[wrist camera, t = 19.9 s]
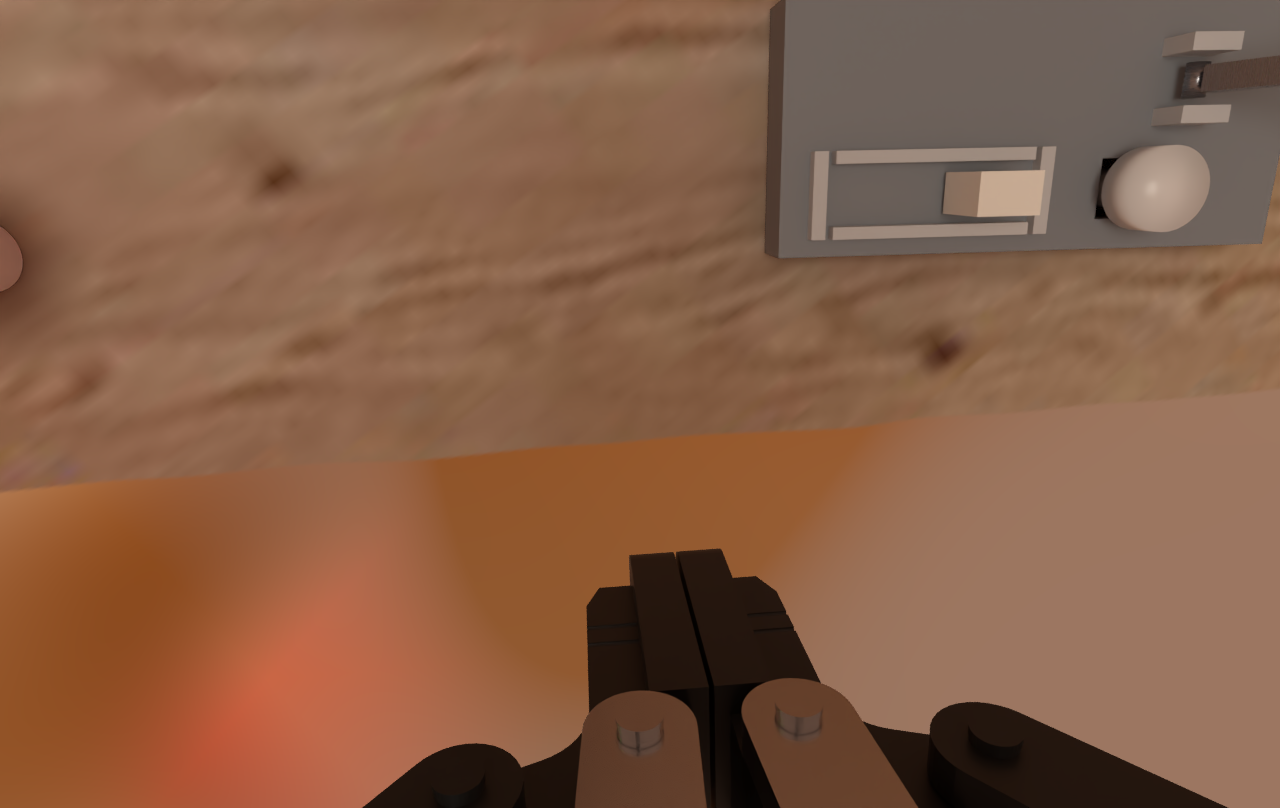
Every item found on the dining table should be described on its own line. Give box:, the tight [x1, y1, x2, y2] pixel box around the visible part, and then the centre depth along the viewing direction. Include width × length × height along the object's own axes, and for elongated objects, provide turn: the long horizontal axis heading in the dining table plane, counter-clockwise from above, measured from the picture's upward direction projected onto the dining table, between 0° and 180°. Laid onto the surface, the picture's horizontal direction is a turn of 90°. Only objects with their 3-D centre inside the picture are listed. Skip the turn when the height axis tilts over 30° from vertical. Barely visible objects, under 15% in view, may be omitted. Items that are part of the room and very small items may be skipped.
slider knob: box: [943, 170, 1045, 217], centre depth 37 cm, size 2×3×4 cm, turn 92°
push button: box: [1096, 145, 1210, 232], centre depth 39 cm, size 4×4×5 cm
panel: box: [765, 0, 1280, 258], centre depth 39 cm, size 12×26×5 cm, turn 91°
